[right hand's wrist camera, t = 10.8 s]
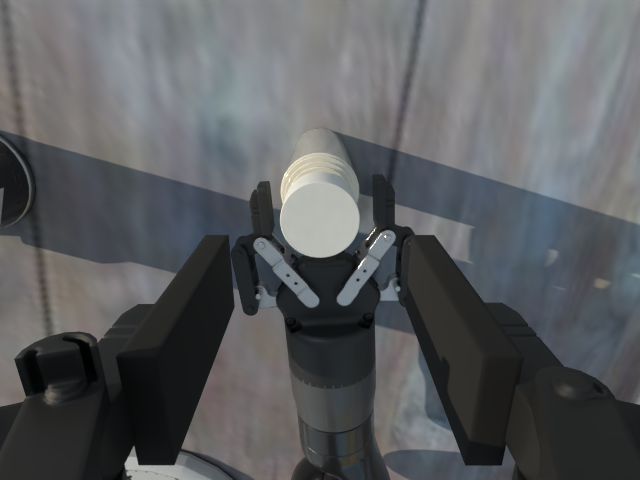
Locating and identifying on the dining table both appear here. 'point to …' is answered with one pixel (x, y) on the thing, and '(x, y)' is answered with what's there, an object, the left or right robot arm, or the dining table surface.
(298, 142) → the bottle
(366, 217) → the dining table surface
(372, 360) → the left robot arm
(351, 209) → the cap
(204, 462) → the wall clock
